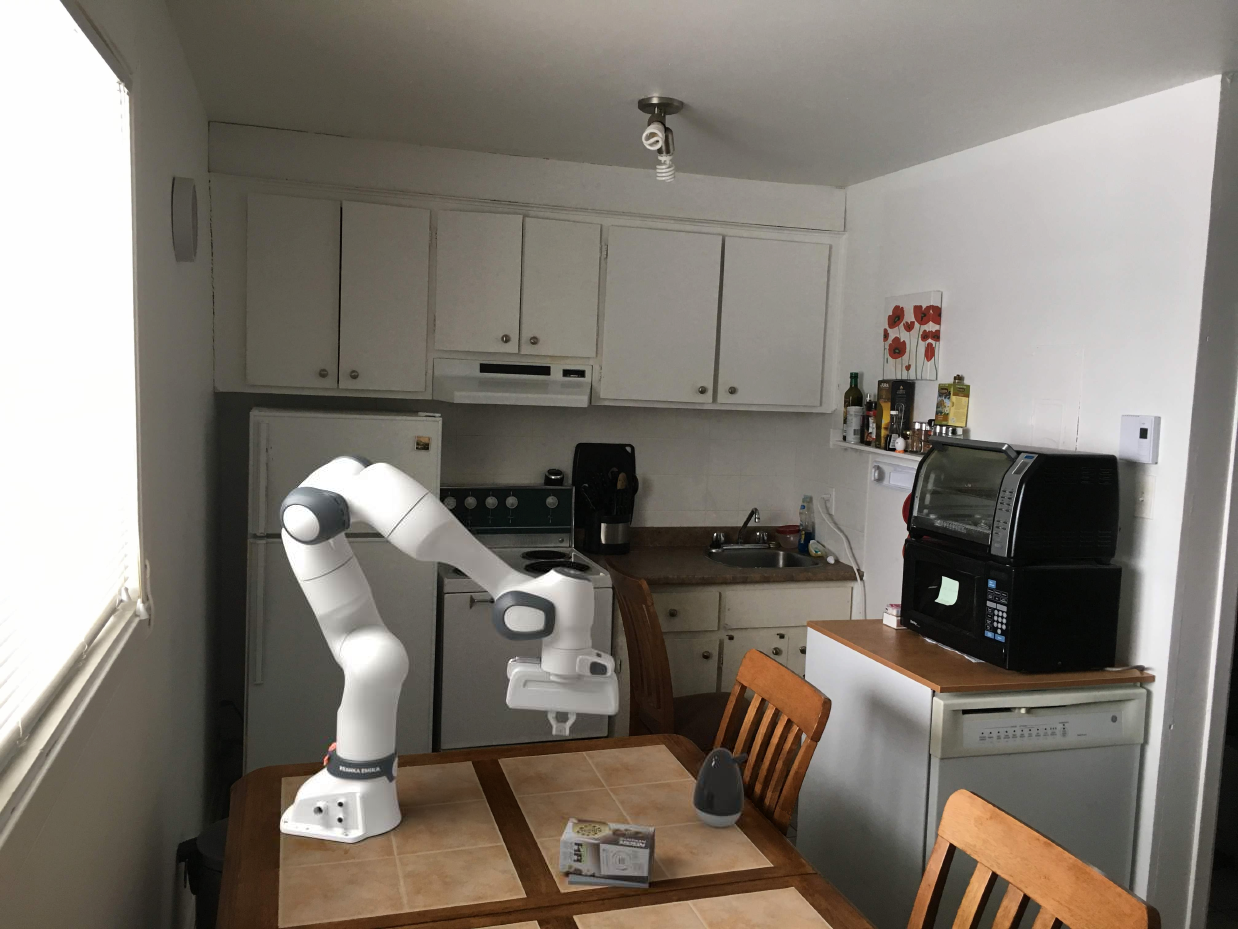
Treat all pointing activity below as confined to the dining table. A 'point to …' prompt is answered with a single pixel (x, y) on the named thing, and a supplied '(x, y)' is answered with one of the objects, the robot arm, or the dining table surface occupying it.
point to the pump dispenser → (719, 789)
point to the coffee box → (607, 850)
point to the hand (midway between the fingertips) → (560, 734)
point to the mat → (602, 881)
